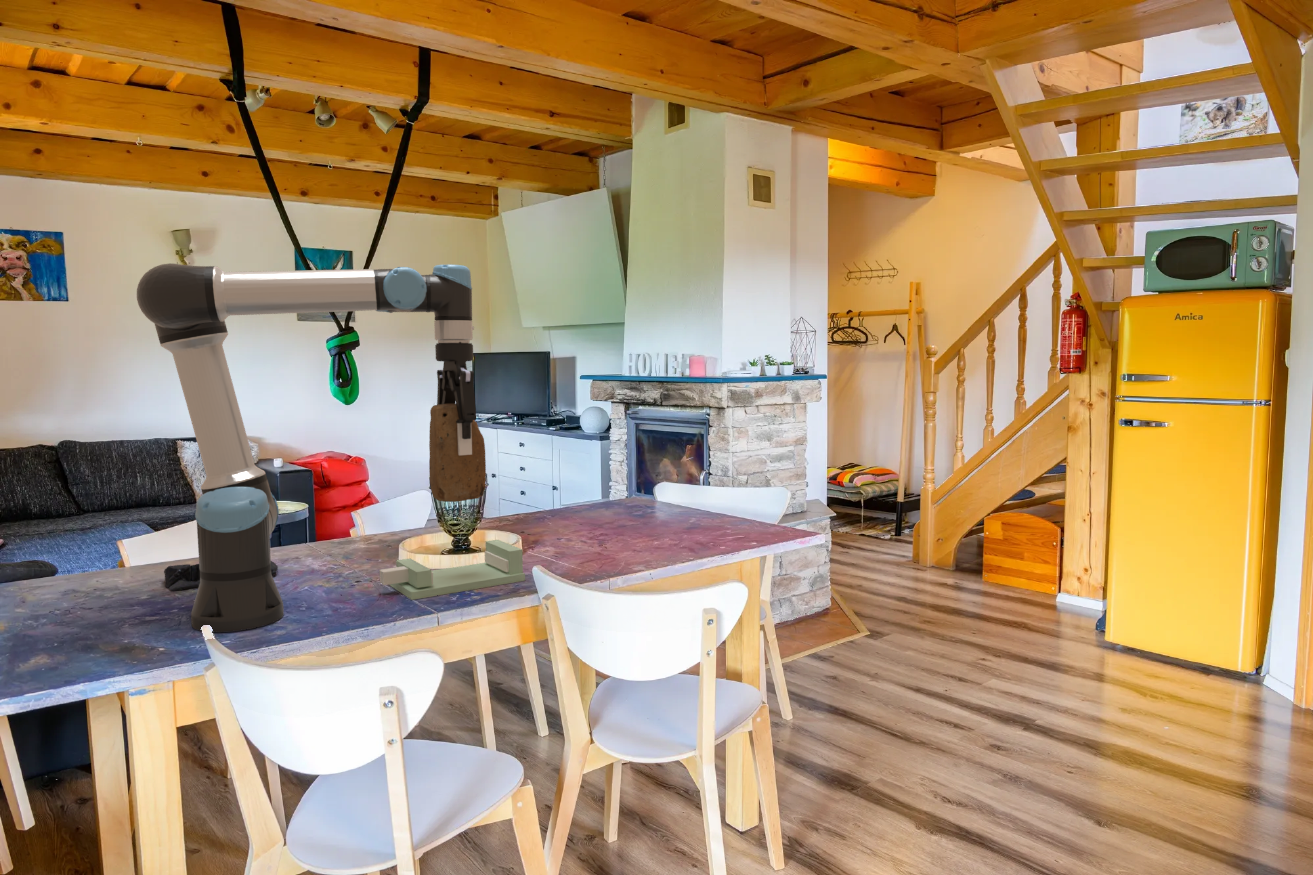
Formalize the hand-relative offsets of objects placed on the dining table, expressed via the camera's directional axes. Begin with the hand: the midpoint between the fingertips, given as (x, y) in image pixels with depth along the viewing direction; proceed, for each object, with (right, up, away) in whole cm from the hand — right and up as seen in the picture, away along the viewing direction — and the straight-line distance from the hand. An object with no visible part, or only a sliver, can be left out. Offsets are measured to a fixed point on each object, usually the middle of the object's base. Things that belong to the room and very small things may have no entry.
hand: (457, 452), depth 182 cm
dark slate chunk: (-52, -28, +7) cm, 59 cm away
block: (0, -10, +1) cm, 10 cm away
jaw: (-10, -26, -4) cm, 28 cm away
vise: (0, -27, +3) cm, 27 cm away
